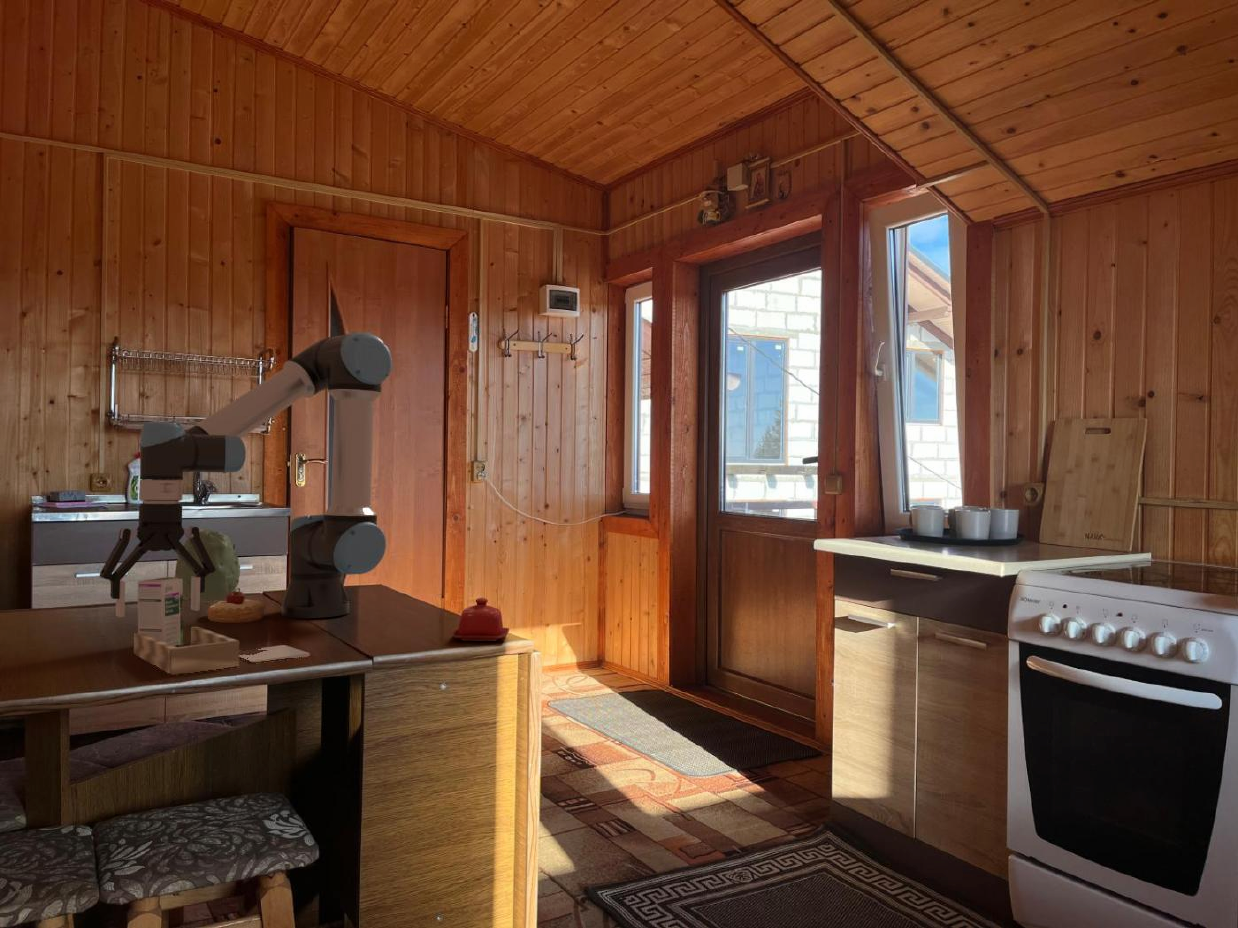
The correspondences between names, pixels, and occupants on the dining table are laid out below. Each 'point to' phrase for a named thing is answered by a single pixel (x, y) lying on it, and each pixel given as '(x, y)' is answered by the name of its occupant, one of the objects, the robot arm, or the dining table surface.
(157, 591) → the syrup box
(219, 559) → the green lumpy fruit
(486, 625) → the butter dish
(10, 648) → the dining table surface
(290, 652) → the coaster
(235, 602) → the pastry
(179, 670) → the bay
